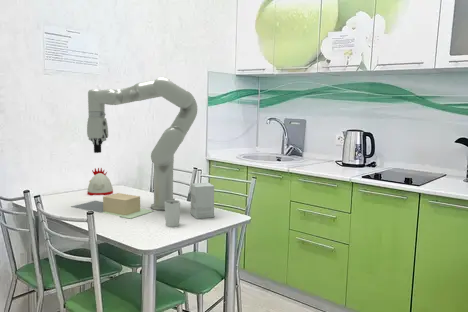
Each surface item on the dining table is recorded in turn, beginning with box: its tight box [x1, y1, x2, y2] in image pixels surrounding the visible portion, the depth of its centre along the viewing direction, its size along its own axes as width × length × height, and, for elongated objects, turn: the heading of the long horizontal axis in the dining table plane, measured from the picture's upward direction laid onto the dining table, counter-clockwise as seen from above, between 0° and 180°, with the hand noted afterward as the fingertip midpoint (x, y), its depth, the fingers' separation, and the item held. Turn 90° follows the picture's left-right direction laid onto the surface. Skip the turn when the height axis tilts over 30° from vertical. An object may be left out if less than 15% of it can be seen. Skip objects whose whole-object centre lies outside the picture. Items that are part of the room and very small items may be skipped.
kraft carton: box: [102, 192, 141, 215], centre depth 194 cm, size 14×10×7 cm
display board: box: [70, 200, 154, 220], centre depth 199 cm, size 39×16×1 cm, turn 62°
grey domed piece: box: [86, 167, 114, 196], centre depth 234 cm, size 14×14×15 cm
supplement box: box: [190, 182, 215, 220], centre depth 190 cm, size 9×9×15 cm
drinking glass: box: [164, 199, 181, 227], centre depth 175 cm, size 7×7×10 cm
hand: (97, 152), depth 201 cm, fingers closed
